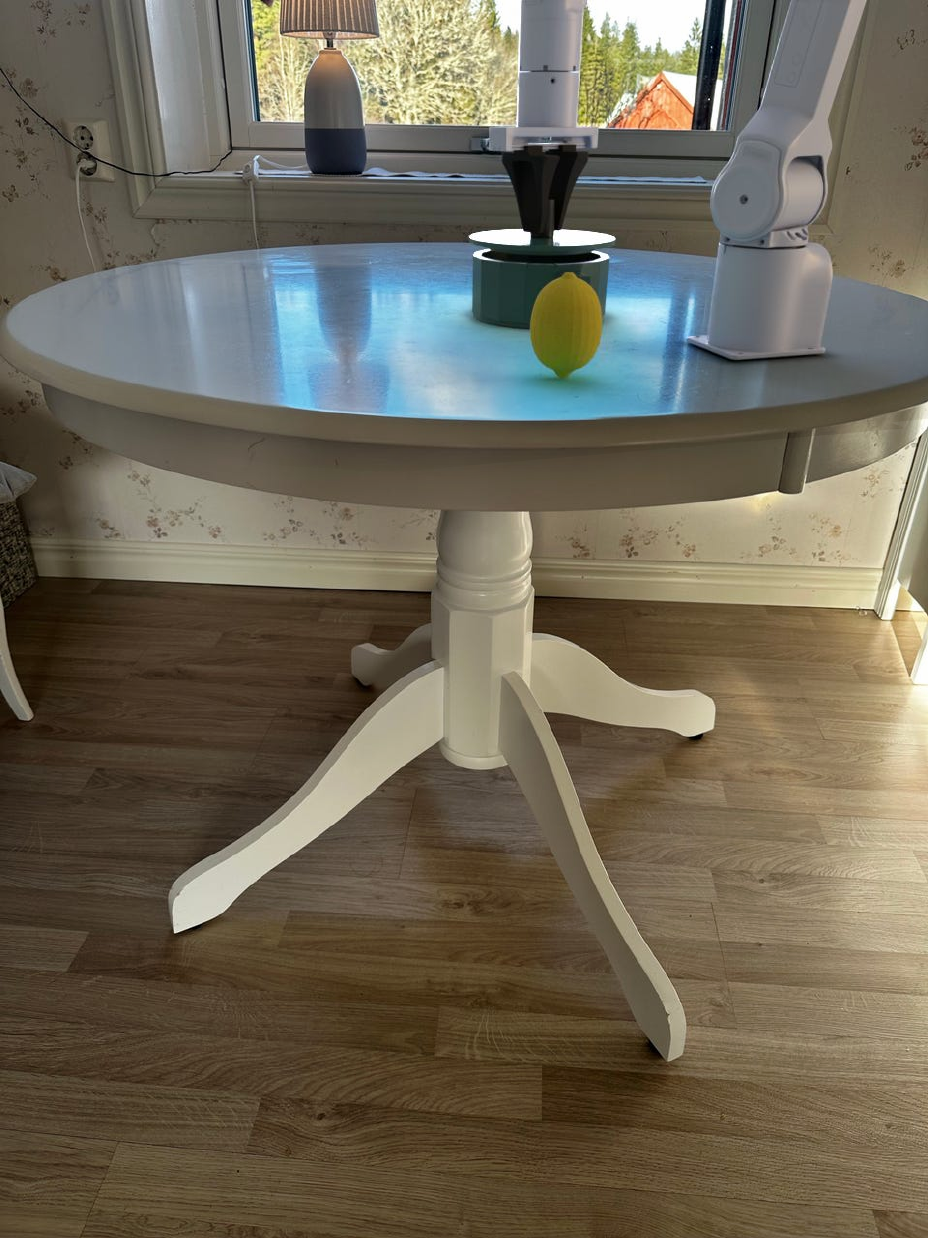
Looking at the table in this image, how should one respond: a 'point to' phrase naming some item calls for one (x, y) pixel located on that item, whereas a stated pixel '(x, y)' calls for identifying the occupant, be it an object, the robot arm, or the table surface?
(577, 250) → the lid
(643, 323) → the table surface
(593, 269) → the pot
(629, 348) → the table surface
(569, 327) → the lemon
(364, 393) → the table surface
